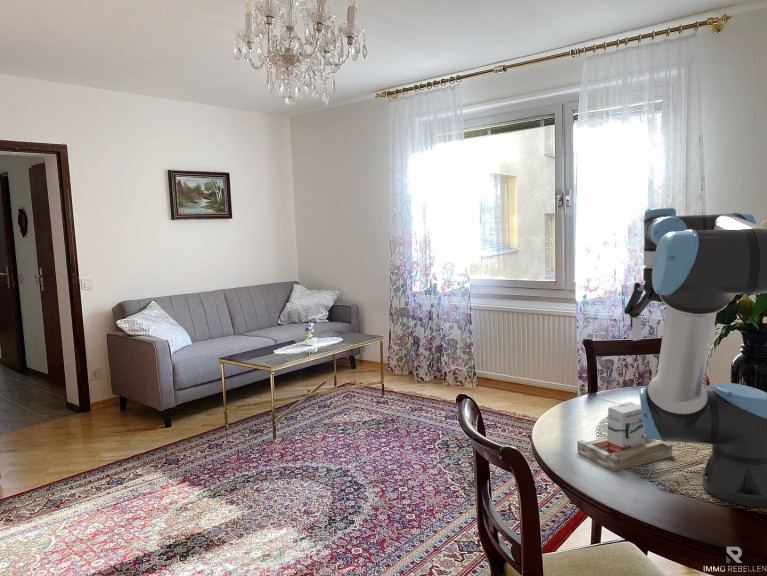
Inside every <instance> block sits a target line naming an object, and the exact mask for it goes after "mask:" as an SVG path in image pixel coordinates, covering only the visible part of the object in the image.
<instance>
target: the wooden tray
mask: <svg viewBox="0 0 767 576" xmlns="http://www.w3.org/2000/svg"><path fill="white" fill-rule="evenodd" d="M607 438H608V436H607V437H602V438H598V439H594V440H589V441H585V440H583V439H580V440H577V442H576V443H577V448H576V449H577V451H578V452H577V453H579V454H581V455H583V456H584V455H585V457H586V458H588V457H589V458H588V459H590V460H592V461H594V462H597V463H599V464H600V465H601V466H604V467H606V468H608V469H610V470H611V471H613V472H618V471H623V470H626V469H630V468H633V467H637V466H640V465H643V464H647V463H651V462H655V461H659V460H662V459H666V458H669V457H672V456H673V444H672V443H669V442H668V441H661V440H654V439H650V438H648V437H647V436H646V435H645V433H644V445H641V446H637V447H633V448H629V449H626V450H622V451H618V452H614V453H611V452H609V451H607Z"/></svg>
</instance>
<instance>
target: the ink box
mask: <svg viewBox="0 0 767 576" xmlns="http://www.w3.org/2000/svg"><path fill="white" fill-rule="evenodd" d="M607 437H608V438H607V451H609V452H611V453H614V452H618V451H622V450H626V449H629V448H633V447H637V446H641V445H644V428H643V420H642V412H641V405H639V404H636V403H634V402H631V401H627V402H623V403H620V404H615V405H612V406H609V407H608V409H607Z"/></svg>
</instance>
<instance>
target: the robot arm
mask: <svg viewBox="0 0 767 576" xmlns="http://www.w3.org/2000/svg"><path fill="white" fill-rule="evenodd" d="M642 264H643V266H644V268H643V281H644V282H643V281H640V282H639V281H638V282H635V283H634V284H633V291H632V293H631V296H630V298H629V300H628V302H627V304H626V307H625V308H624V314H626V315H628V316H629V318H630V327H631V329H632V331H631V332H632V334H631V335H632V336H631V337H632V338H631V339H632V341H634V342H635V341H641V340H642V324H643V323H642V322H643V320H642V319H643V317H642V316H641V313H642V312H643V311H644V310H645V308H646V307H647V306H648V305H649V304H650V303H651V302H658V303H663V304H664V305H665V306H666V308H665V314H664V316H665V317H664V322H663V323H664V324H663V329H662V337H661V345H660V352H659V358H658V359H659V360H658V367H657V375H655V376H654V377H653V378H651V380H650V381H649V383H648V386H644V387H640V389H639V391H638V392H639V393H638V394H639V402H640V406H641V412H642V420H643V428H644V433H645V435H646V436H647V437H648V438H650V439H654V440H661V441H665V442H673V443H674V442H676V443H687V444H688V443H689V444H703V445H704V444H706V445H711V453H710V456H709V458H708V460H707V462H706V465H705V467H704V469H703V471H702V476H701V478H702V479H701V485H702V487H703V488H704V490H705V491H707V492H708V493H709V494H710V495H712V496H714V497H716V498H717V499H720V500H722V501H726V502H728V503H732V504H734V505H739V506H745V507H751V508H767V392H766V391H764V390H761V389H758V388H755V387H753V386H748V385H744V384H739V383H732V382H717V383H715V384H714V385H713V387H712V390H707V389H706V388H705V387H704V385H703V381H704V376H705V371H706V368H707V363H708V357H709V353H710V348H711V342H712V338H713V337H712V336H713V331H714V328H715V323H716V318H717V313H720V311H723V310H724V309H726V307H727V306H728V305H729V303H730V297H731V295H761V294H767V227H763V226H761V225H758V224H757V221H756V219H755V216H754V215H753V214H751V213H744V212H743V213H741V212H733V213H723V214H722V213H720V214H693V215H689V214H687V215H677V211H676V208H674V207H659V208H657V207H655V208H648V209H645V211H644V217H643V263H642ZM643 292H645V293H643Z"/></svg>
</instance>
